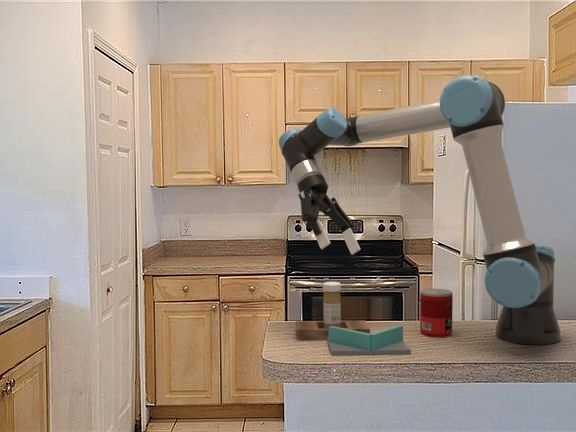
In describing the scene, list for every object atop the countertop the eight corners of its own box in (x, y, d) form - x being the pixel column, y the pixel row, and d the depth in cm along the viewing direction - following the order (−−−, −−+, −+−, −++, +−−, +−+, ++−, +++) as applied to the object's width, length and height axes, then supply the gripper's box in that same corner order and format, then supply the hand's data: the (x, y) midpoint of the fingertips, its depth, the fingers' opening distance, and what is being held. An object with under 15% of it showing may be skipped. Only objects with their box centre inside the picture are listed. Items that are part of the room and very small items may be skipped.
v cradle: (400, 340, 163) (400, 322, 162) (410, 354, 151) (410, 334, 150) (327, 341, 162) (327, 323, 162) (331, 355, 150) (331, 335, 150)
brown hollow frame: (364, 330, 173) (364, 320, 173) (370, 339, 164) (370, 329, 164) (296, 331, 173) (295, 321, 173) (297, 340, 163) (297, 330, 163)
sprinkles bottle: (339, 332, 171) (339, 281, 170) (342, 337, 166) (342, 284, 165) (321, 333, 170) (321, 281, 170) (324, 337, 166) (324, 284, 165)
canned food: (452, 338, 164) (453, 294, 164) (420, 336, 166) (420, 293, 165) (451, 330, 172) (451, 288, 171) (420, 329, 173) (420, 288, 173)
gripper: (326, 196, 187) (356, 261, 177) (270, 180, 168) (300, 251, 158) (346, 181, 183) (378, 246, 174) (291, 163, 164) (323, 235, 155)
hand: (341, 249), depth 166 cm, fingers open, 13 cm apart
